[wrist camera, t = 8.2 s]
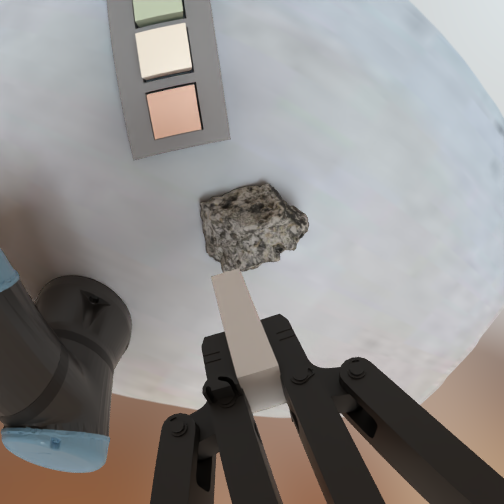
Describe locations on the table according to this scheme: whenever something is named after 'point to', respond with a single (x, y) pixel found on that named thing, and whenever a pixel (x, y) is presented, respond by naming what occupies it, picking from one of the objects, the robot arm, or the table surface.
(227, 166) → the table surface
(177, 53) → the key cream
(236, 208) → the rock
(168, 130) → the key terracotta
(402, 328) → the table surface
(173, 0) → the key sage
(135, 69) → the grey socket tray
